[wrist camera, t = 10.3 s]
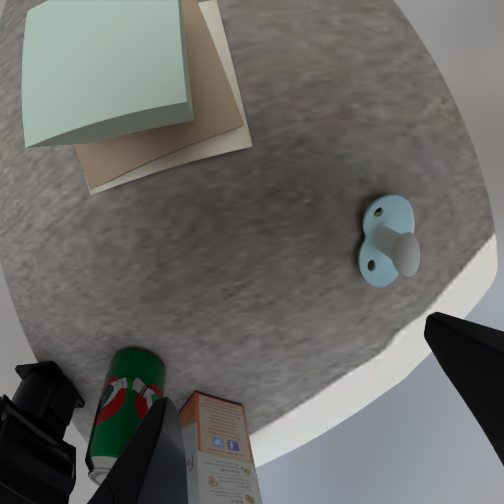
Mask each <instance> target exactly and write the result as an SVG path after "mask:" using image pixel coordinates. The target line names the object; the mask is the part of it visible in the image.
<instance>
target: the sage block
mask: <svg viewBox="0 0 504 504" xmlns="http://www.w3.org/2000/svg"><path fill="white" fill-rule="evenodd" d="M22 113H23V127H24V138H25V147H26V148H30V147H40V146H52V145H67V144H88V143H96V142H100V141H103V140H107V139H111V138H114V137H118V136H122V135H126V134H131V133H135V132H139V131H144V130H148V129H153V128H158V127H163V126H168V125H174V124H179V123H185V122H191V121H194V115H193V107H192V98H191V89H190V79H189V69H188V59H187V48H186V36H185V25H184V18H183V11H182V3H181V0H48V1H46V2H44V3H42V4H40V5H38V6H36V7H34V8H32V9H31V10H29V11H28V12H27V19H26V26H25V34H24V45H23V59H22Z"/></svg>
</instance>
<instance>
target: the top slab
mask: <svg viewBox="0 0 504 504" xmlns="http://www.w3.org/2000/svg"><path fill="white" fill-rule="evenodd" d="M181 3H182V11H183V18H184V25H185V36H186V48H187V59H188V69H189V79H190V89H191V98H192V107H193V115H194V121H191V122H185V123H179V124H174V125H168V126H163V127H158V128H153V129H148V130H144V131H139V132H135V133H131V134H126V135H122V136H118V137H114V138H111V139H107V140H103V141H100V142H96V143H88V144H74V147H75V150H76V152H77V155H78V158H79V161H80V163H81V166H82V168H83V171H84V174H85V176H86V179H87V181H88V184H89V186H90V189H91V190H92V189H94V188H97V187H99V186H101V185H103V184H105V183H108V182H110V181H112V180H114V179H116V178H118V177H120V176H122V175H124V174H126V173H128V172H130V171H133V170H135V169H137V168H139V167H141V166H143V165H146V164H148V163H150V162H152V161H155V160H157V159H159V158H161V157H164V156H166V155H168V154H171V153H173V152H176V151H178V150H181V149H183V148H186V147H188V146H191V145H193V144H196V143H198V142H201V141H204V140H206V139H209V138H212V137H215V136H217V135H220V134H223V133H226V132H229V131H232V130H235V129H238V128H240V127H242V126H244V122H243V119H242V117H241V114H240V111H239V108H238V106H237V103H236V100H235V97H234V95H233V92H232V89H231V86H230V84H229V81H228V78H227V76H226V73H225V70H224V68H223V65H222V62H221V60H220V57H219V55H218V52H217V49H216V47H215V44H214V42H213V39H212V37H211V34H210V32H209V29H208V27H207V24H206V22H205V19H204V17H203V14H202V12H201V9H200V7H199V4H198V2H197V0H181Z"/></svg>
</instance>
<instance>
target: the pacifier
mask: <svg viewBox="0 0 504 504" xmlns="http://www.w3.org/2000/svg"><path fill="white" fill-rule="evenodd" d="M380 207H381V212H378V213H376V214H374V212H375V211H376V209H378V208H380ZM414 227H415V222H414V214H413V210H412V207H411V205H410V203H409V202H408V201H407V200H406V199H405V198H404V197H402V196H399V195H386V196H383V197H381V198H379V199H377V200H375V201H374V202H373V203H372V204H371V205H370V206H369V207H368V209H367V210H366V212H365V214H364V217H363V230H364V233H365V239H364V241H363V243H362V245H361V247H360V250H359V255H358V264H359V269H360V272H361V274H362V276H363V277H364V279H365V280H366V281H367V282H368V283H369V284H371V285H372V286H375V287H385V286H387V285H389V284H390V283H392V282H393V281H394V280H395V279H396V277H397V276H398V275H399V273H400V274H401V275H403V276H406V277H411V276H413V275H414V274H415V273H416V271H417V269H418V266H419V262H420V248H419V244H418V241H417V238H416V237H415V235H414ZM370 260H373V262H374V267H373V269H372V270H368V267H367V265H368V262H369V261H370Z"/></svg>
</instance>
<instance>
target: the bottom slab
mask: <svg viewBox="0 0 504 504" xmlns="http://www.w3.org/2000/svg"><path fill="white" fill-rule="evenodd" d="M198 4H199V7H200V9H201V12H202V14H203V17H204V19H205V22H206V24H207V27H208V29H209V32H210V34H211V37H212V39H213V42H214V44H215V47H216V49H217V52H218V55H219V57H220V60H221V62H222V65H223V68H224V70H225V73H226V76H227V78H228V81H229V84H230V86H231V89H232V92H233V95H234V97H235V100H236V103H237V106H238V108H239V111H240V114H241V117H242V119H243V122H244V126H242V127H240V128H238V129H235V130H232V131H229V132H226V133H223V134H220V135H217V136H215V137H212V138H209V139H206V140H204V141H201V142H198V143H196V144H193V145H191V146H188V147H186V148H183V149H181V150H178V151H176V152H173V153H171V154H168V155H166V156H164V157H161V158H159V159H157V160H155V161H152V162H150V163H148V164H146V165H143V166H141V167H139V168H137V169H135V170H133V171H130V172H128V173H126V174H124V175H122V176H120V177H118V178H116V179H114V180H112V181H110V182H108V183H105V184H103V185H101V186H99V187H97V188H94V189H92V190H91V189H90V186H89V184H88V181H87V179H86V181H87V185H88V188H89V191H90V195H93V194H96V193H98V192H101V191H104V190H106V189H109V188H112V187H114V186H117V185H120V184H123V183H126V182H128V181H131V180H134V179H137V178H140V177H143V176H146V175H149V174H153V173H156V172H159V171H162V170H165V169H169V168H172V167H175V166H179V165H182V164H186V163H189V162H193V161H196V160H200V159H204V158H207V157H211V156H215V155H219V154H223V153H227V152H231V151H235V150H239V149H244V148H248V147H252V142H251V138H250V134H249V129H248V125H247V121H246V117H245V112H244V108H243V104H242V100H241V96H240V91H239V87H238V83H237V79H236V75H235V71H234V67H233V63H232V59H231V55H230V51H229V47H228V43H227V40H226V36H225V32H224V28H223V24H222V20H221V17H220V13H219V9H218V5H217V2H216V0H212V1H206V2H201V3H198ZM85 178H86V176H85Z"/></svg>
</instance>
